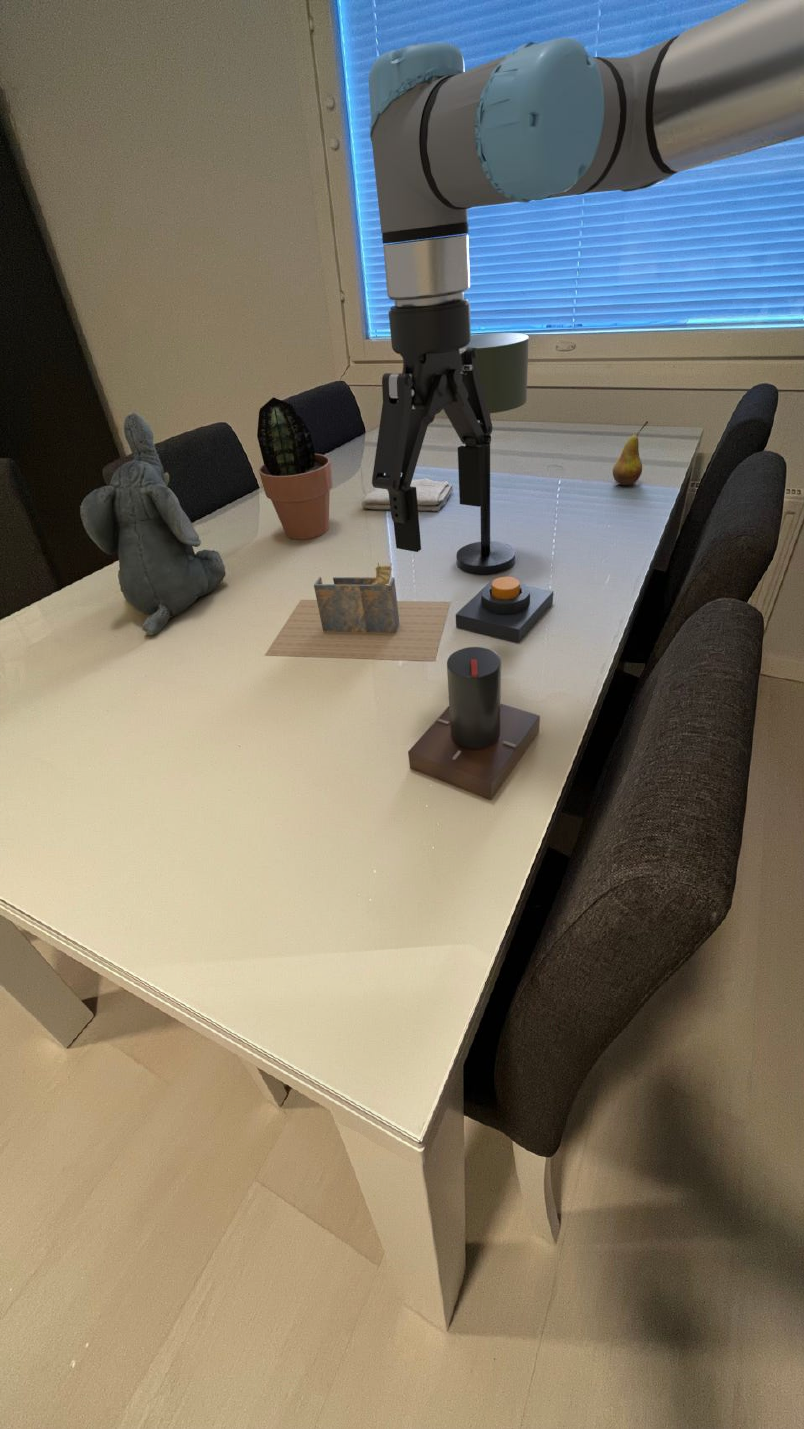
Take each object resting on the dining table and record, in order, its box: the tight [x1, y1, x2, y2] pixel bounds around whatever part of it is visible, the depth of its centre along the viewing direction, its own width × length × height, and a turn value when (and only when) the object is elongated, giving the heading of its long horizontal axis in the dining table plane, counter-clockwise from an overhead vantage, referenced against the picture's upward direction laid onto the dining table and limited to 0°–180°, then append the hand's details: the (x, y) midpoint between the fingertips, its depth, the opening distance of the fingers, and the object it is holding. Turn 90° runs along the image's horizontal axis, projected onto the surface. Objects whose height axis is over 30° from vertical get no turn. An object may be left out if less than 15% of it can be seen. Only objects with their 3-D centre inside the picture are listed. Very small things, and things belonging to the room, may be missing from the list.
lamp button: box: [491, 576, 521, 599], centre depth 87 cm, size 4×4×2 cm
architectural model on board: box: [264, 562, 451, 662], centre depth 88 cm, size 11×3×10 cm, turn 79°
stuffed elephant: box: [79, 412, 226, 637], centre depth 96 cm, size 19×21×27 cm
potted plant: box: [256, 396, 334, 540], centre depth 115 cm, size 14×14×25 cm
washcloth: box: [361, 478, 454, 512], centre depth 129 cm, size 12×18×3 cm, turn 74°
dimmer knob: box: [446, 646, 502, 749], centre depth 63 cm, size 5×5×10 cm
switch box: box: [455, 578, 555, 644], centre depth 88 cm, size 10×12×4 cm
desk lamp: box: [455, 332, 530, 576], centre depth 94 cm, size 12×12×33 cm
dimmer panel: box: [407, 703, 541, 801], centre depth 67 cm, size 10×12×3 cm
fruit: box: [612, 420, 649, 486], centre depth 123 cm, size 6×6×12 cm
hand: (441, 525), depth 68 cm, fingers open, 13 cm apart
